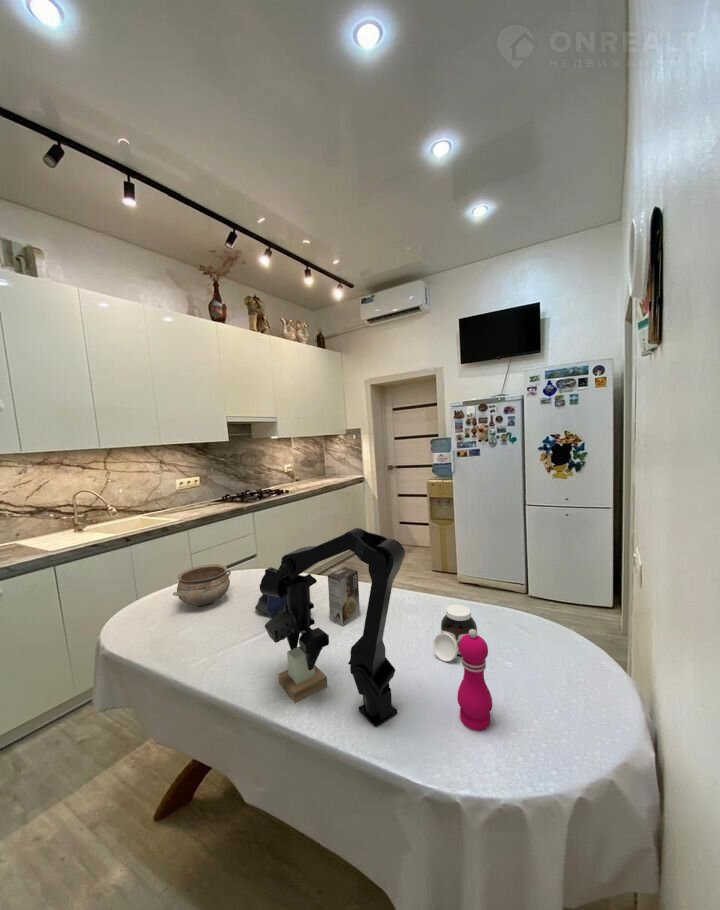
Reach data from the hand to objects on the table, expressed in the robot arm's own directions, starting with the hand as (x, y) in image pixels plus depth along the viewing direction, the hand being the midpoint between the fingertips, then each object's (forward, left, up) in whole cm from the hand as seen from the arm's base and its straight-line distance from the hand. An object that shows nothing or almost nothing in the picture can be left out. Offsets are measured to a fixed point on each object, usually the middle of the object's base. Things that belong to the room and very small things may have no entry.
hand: (301, 660), depth 91 cm
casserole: (+47, -16, -7) cm, 50 cm away
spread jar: (-16, -40, -7) cm, 44 cm away
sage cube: (0, 0, -4) cm, 4 cm away
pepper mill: (-34, -24, -6) cm, 42 cm away
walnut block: (0, 0, -7) cm, 7 cm away
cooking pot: (+67, +8, -6) cm, 68 cm away
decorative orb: (+31, -11, -6) cm, 34 cm away
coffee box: (+21, -27, -6) cm, 35 cm away
